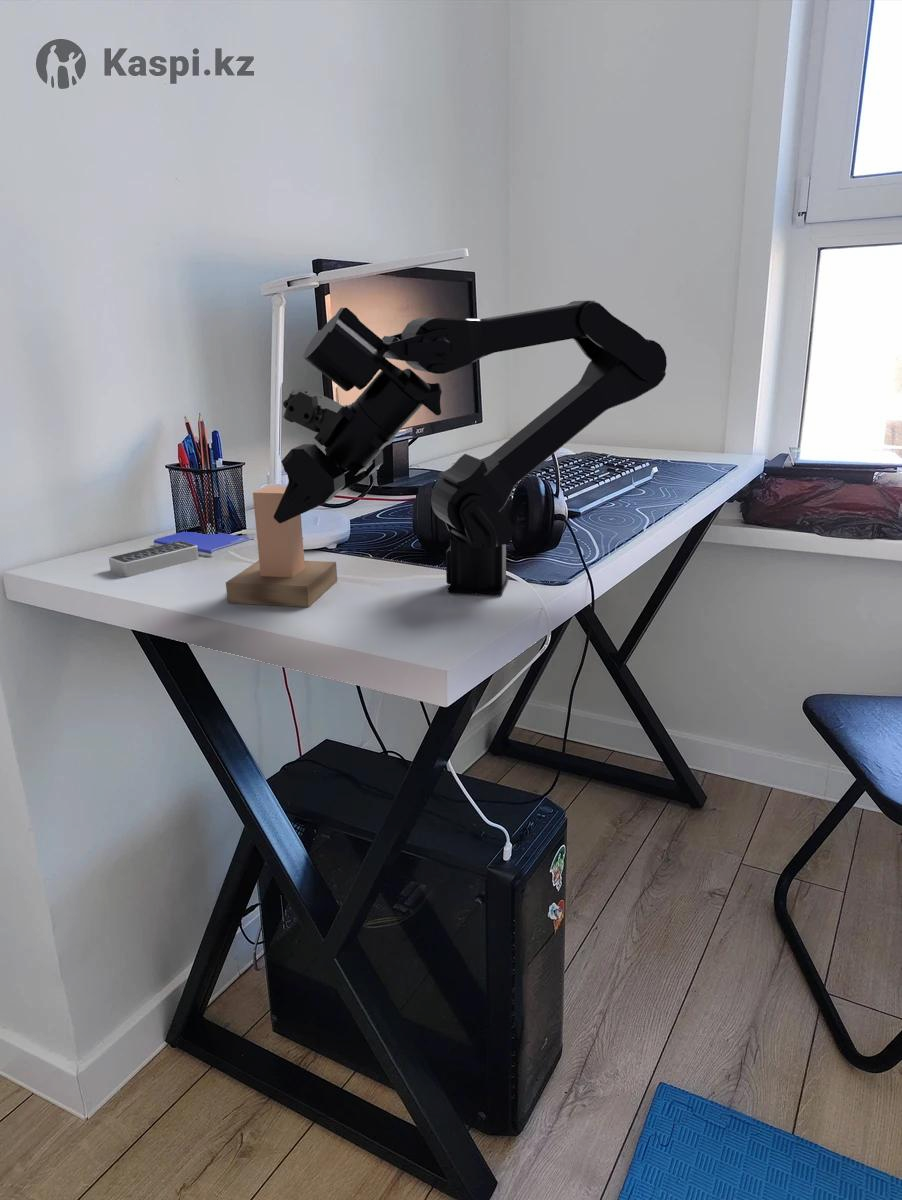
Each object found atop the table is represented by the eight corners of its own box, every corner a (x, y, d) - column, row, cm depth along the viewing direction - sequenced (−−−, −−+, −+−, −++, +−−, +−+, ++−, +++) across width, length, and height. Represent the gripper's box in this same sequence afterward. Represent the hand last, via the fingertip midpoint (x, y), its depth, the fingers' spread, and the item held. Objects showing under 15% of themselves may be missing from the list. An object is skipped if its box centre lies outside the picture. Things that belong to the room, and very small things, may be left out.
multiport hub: (109, 574, 113) (107, 557, 113) (182, 556, 121) (180, 540, 120) (126, 580, 111) (124, 563, 110) (200, 561, 118) (198, 545, 118)
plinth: (337, 581, 107) (336, 561, 106) (308, 607, 98) (307, 586, 97) (262, 577, 109) (261, 558, 108) (227, 602, 100) (225, 582, 99)
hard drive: (253, 537, 125) (196, 527, 132) (210, 550, 119) (152, 539, 125) (255, 547, 126) (198, 537, 132) (212, 561, 119) (154, 549, 126)
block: (304, 567, 104) (298, 486, 101) (292, 577, 100) (285, 493, 97) (274, 566, 105) (266, 485, 102) (260, 575, 101) (252, 492, 98)
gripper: (352, 357, 102) (275, 449, 108) (292, 368, 85) (203, 477, 91) (418, 424, 103) (338, 511, 109) (372, 448, 86) (279, 551, 92)
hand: (292, 511), depth 100 cm, fingers open, 9 cm apart
